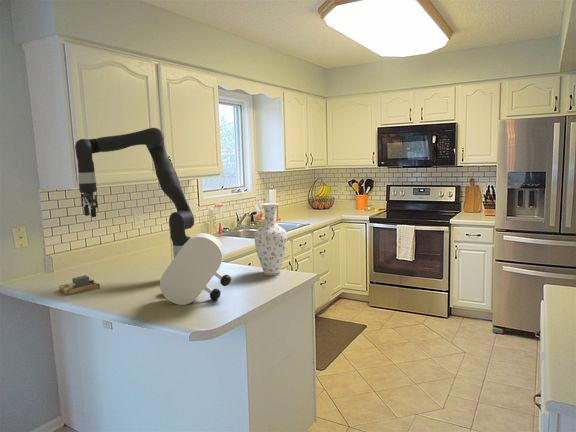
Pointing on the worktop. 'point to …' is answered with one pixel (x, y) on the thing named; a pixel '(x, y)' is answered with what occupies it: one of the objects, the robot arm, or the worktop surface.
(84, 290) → the tray
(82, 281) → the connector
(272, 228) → the vase
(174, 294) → the robot
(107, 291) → the worktop surface
